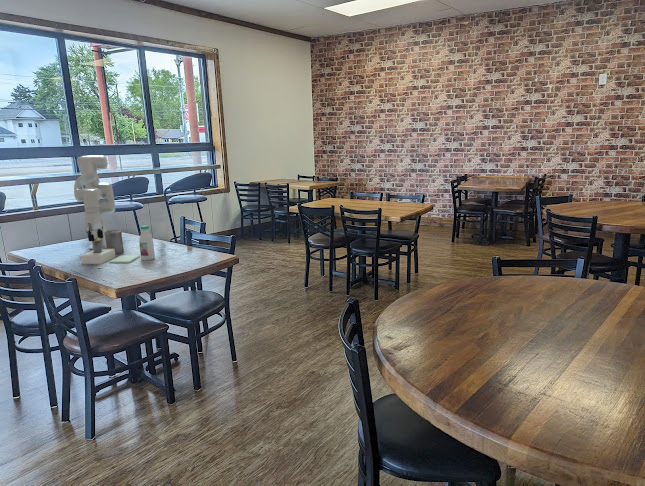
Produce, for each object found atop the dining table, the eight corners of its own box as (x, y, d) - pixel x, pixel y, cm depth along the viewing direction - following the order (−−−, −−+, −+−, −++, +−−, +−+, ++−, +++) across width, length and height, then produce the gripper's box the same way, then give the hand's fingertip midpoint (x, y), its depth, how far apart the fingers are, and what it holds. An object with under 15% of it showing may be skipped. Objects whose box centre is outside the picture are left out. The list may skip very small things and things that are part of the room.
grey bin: (113, 250, 293) (110, 227, 289) (127, 251, 291) (124, 228, 287) (103, 254, 284) (100, 231, 280) (117, 254, 282) (114, 231, 278)
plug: (96, 258, 273) (94, 237, 270) (106, 258, 272) (103, 237, 269) (91, 261, 267) (88, 239, 264) (101, 261, 267) (98, 239, 264)
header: (96, 256, 278) (95, 248, 277) (115, 256, 277) (114, 248, 276) (81, 263, 262) (80, 255, 261) (101, 263, 262) (100, 255, 260)
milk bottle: (151, 256, 275) (148, 224, 271) (157, 258, 270) (153, 225, 266) (139, 259, 270) (135, 226, 266) (144, 261, 265) (140, 227, 260)
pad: (121, 257, 276) (120, 255, 276) (140, 256, 275) (140, 255, 275) (109, 263, 262) (109, 261, 262) (129, 263, 262) (129, 261, 261)
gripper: (94, 208, 272) (97, 236, 275) (77, 212, 255) (81, 242, 258) (106, 208, 271) (109, 236, 275) (90, 212, 254) (94, 242, 258)
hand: (96, 239), depth 266 cm, fingers open, 9 cm apart
